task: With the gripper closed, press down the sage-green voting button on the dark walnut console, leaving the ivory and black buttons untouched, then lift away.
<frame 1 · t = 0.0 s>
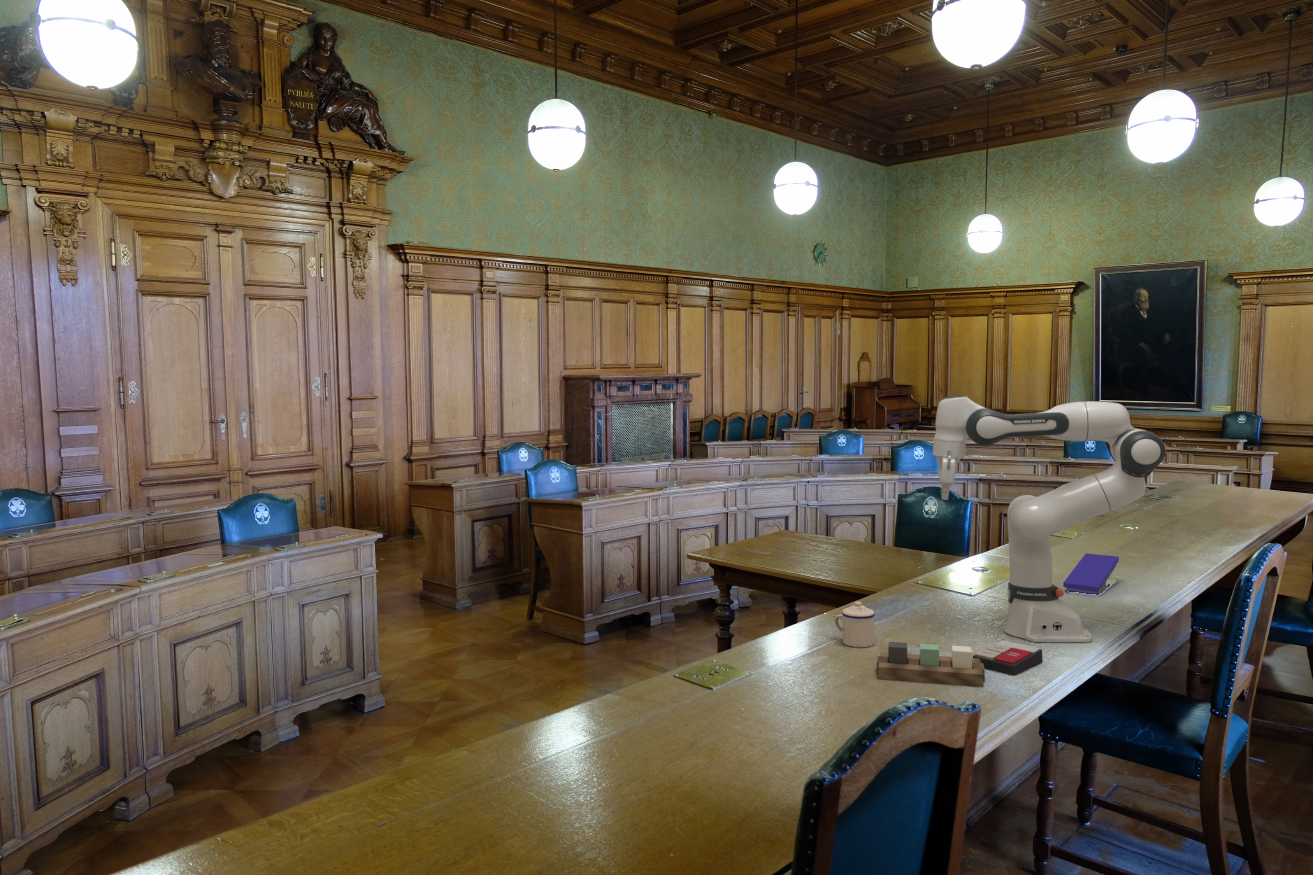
hand: (944, 497, 240), 39 cm above the table, tool pointing down, fingers open, 8 cm apart
ivory button: (961, 658, 200), point 5 cm above the table, slide at 0.0 cm
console: (929, 674, 203), on the table
purple sloped board: (1092, 588, 287), on the table
dark flat boxy piece: (1007, 666, 209), on the table
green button: (929, 656, 203), point 5 cm above the table, slide at 0.0 cm
black button: (897, 654, 205), point 5 cm above the table, slide at 0.0 cm
teacup with lid: (854, 642, 231), on the table
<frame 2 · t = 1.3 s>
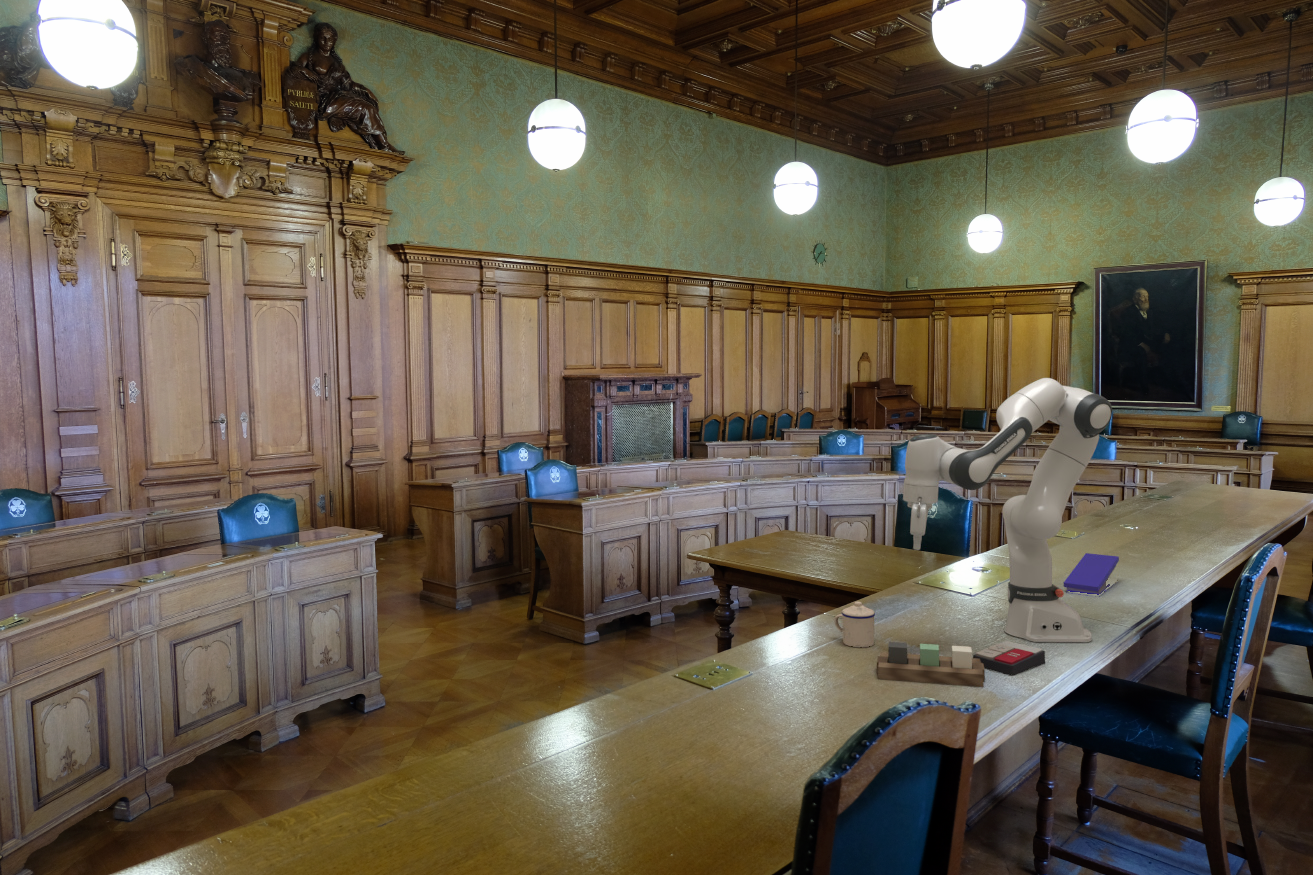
hand: (917, 545, 221), 29 cm above the table, tool pointing down, fingers open, 8 cm apart
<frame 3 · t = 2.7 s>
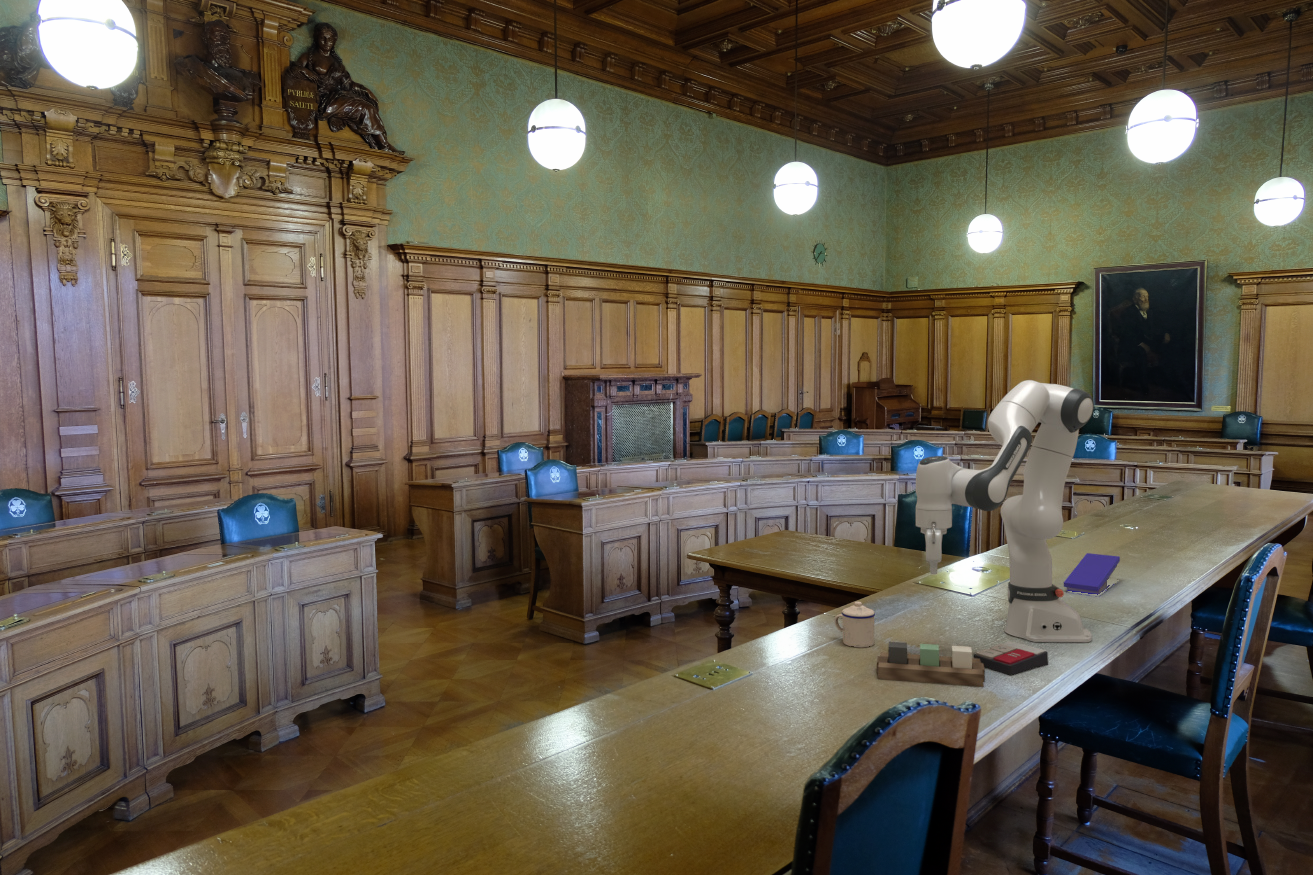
hand: (933, 573, 211), 23 cm above the table, tool pointing down, fingers closed
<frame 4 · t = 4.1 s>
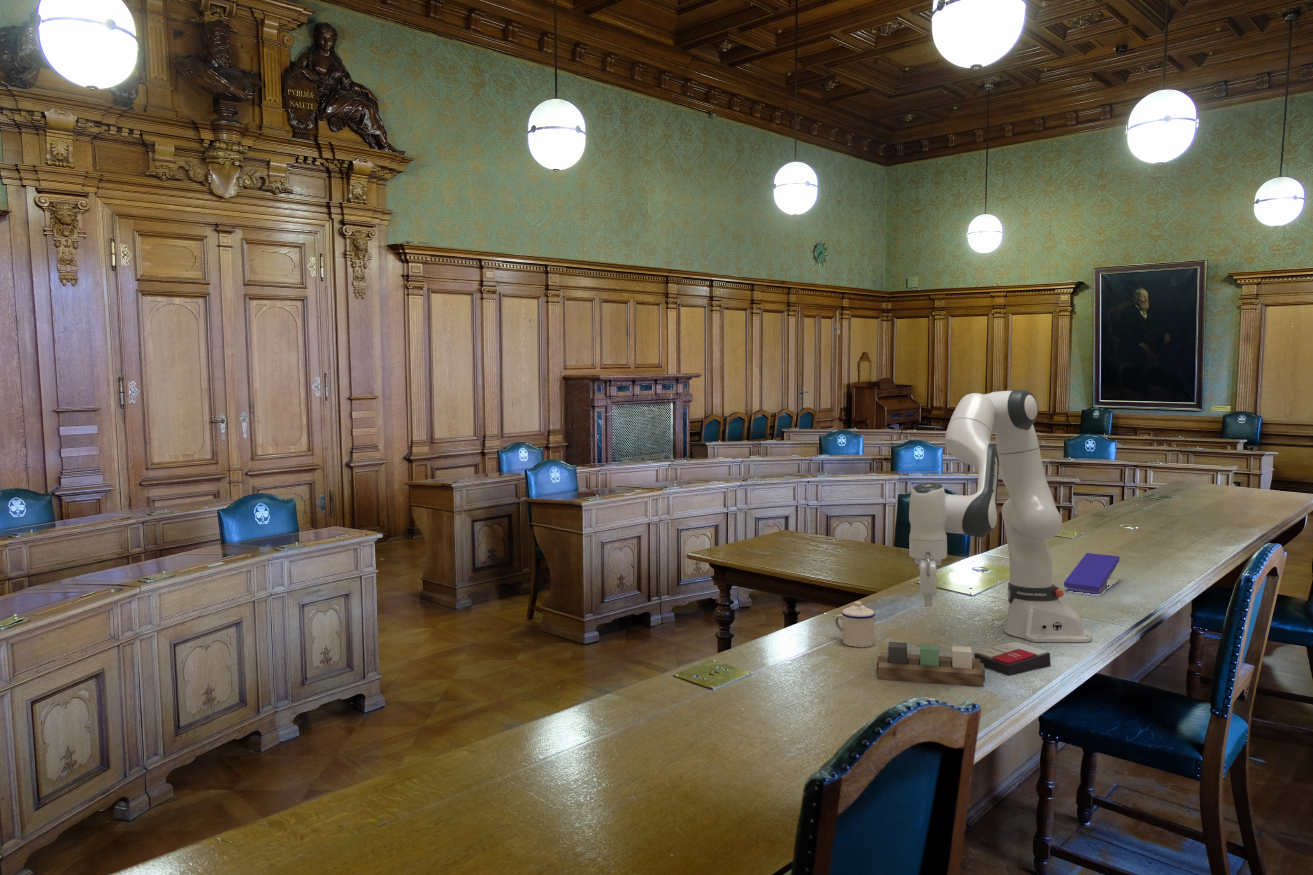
hand: (928, 605, 202), 17 cm above the table, tool pointing down, fingers closed
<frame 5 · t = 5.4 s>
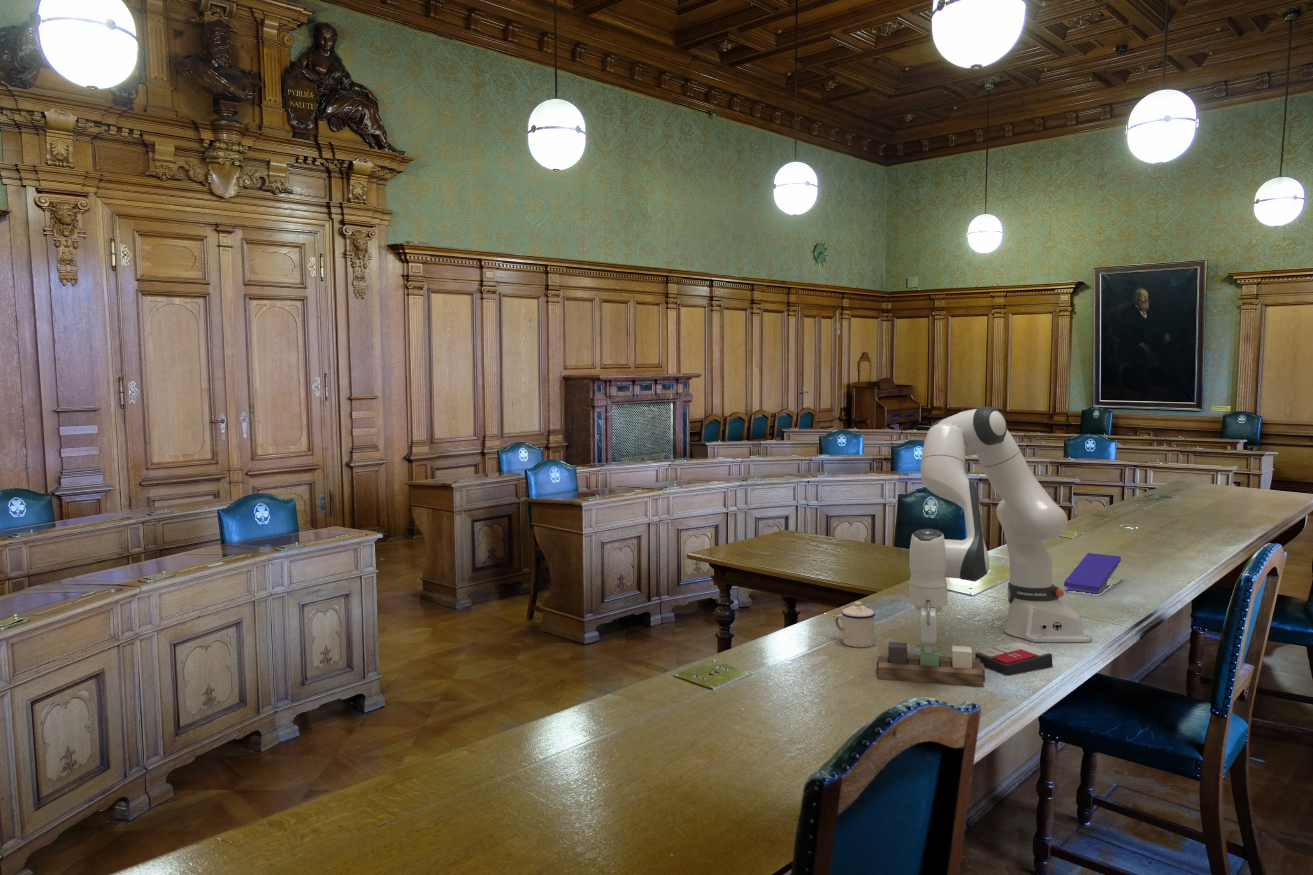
hand: (928, 651, 203), 6 cm above the table, tool pointing down, fingers closed, pressing on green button
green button: (929, 661, 203), point 3 cm above the table, slide at 1.3 cm, touching gripper
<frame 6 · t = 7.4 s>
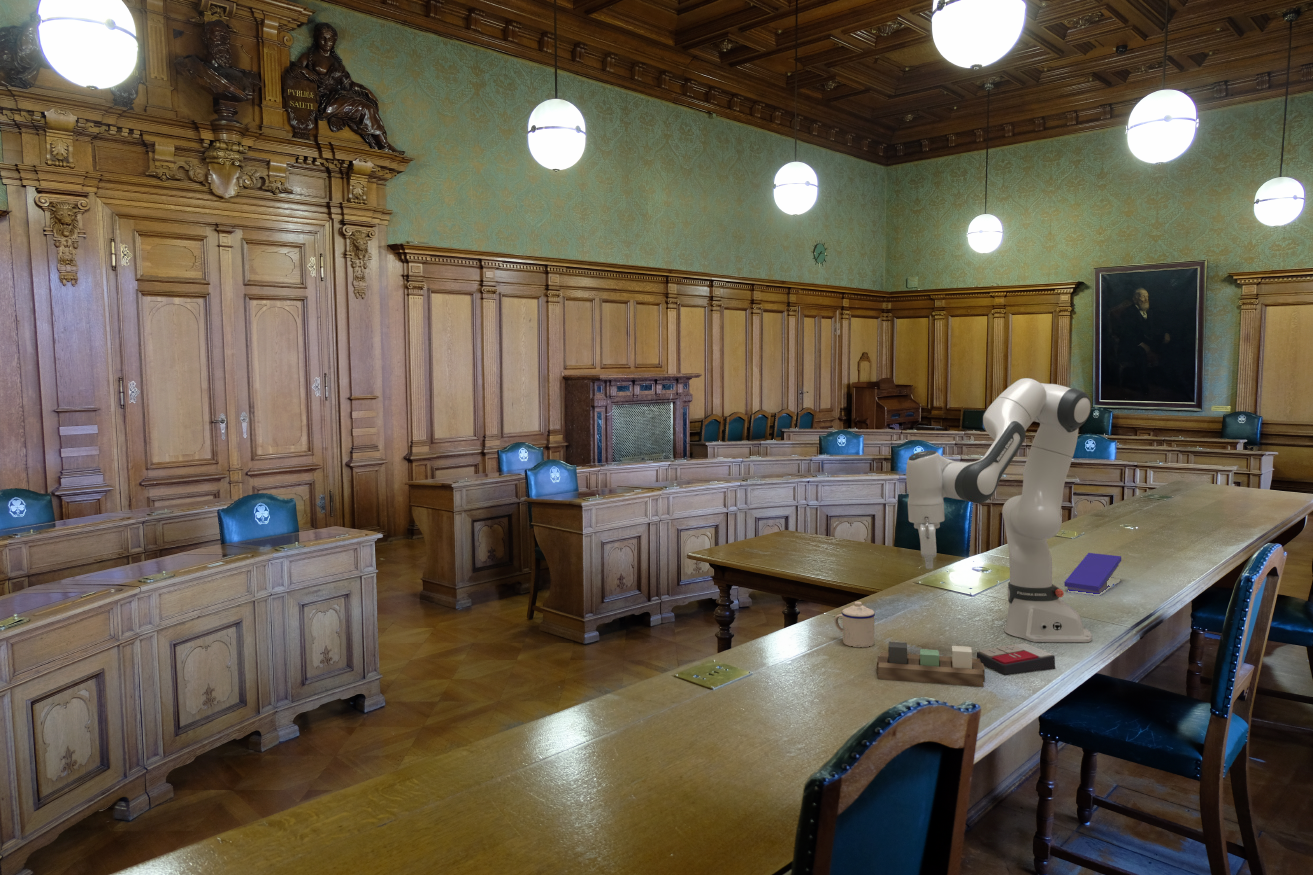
hand: (929, 567, 212), 25 cm above the table, tool pointing down, fingers closed
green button: (929, 662, 203), point 3 cm above the table, slide at 1.4 cm
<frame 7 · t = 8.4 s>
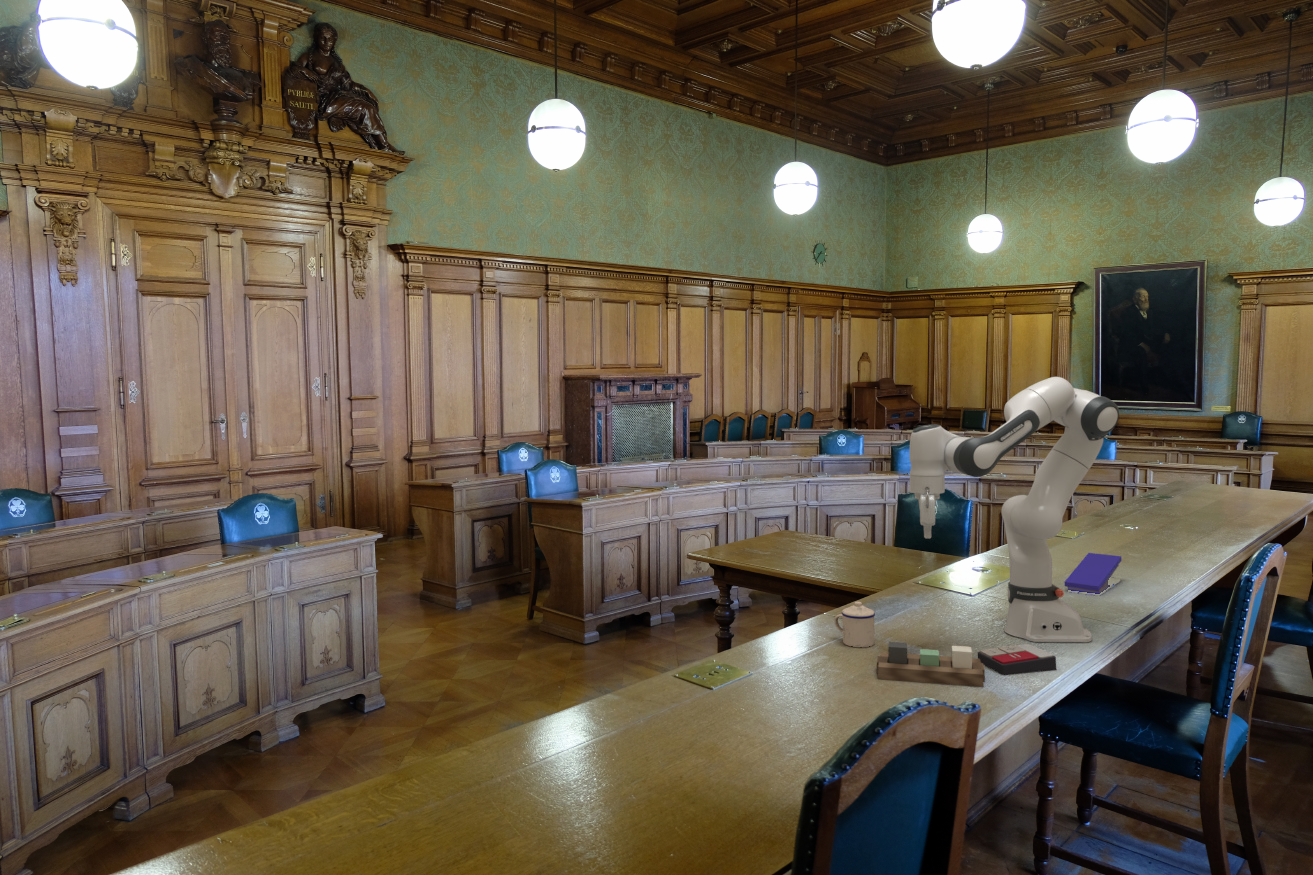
hand: (927, 537, 218), 31 cm above the table, tool pointing down, fingers closed
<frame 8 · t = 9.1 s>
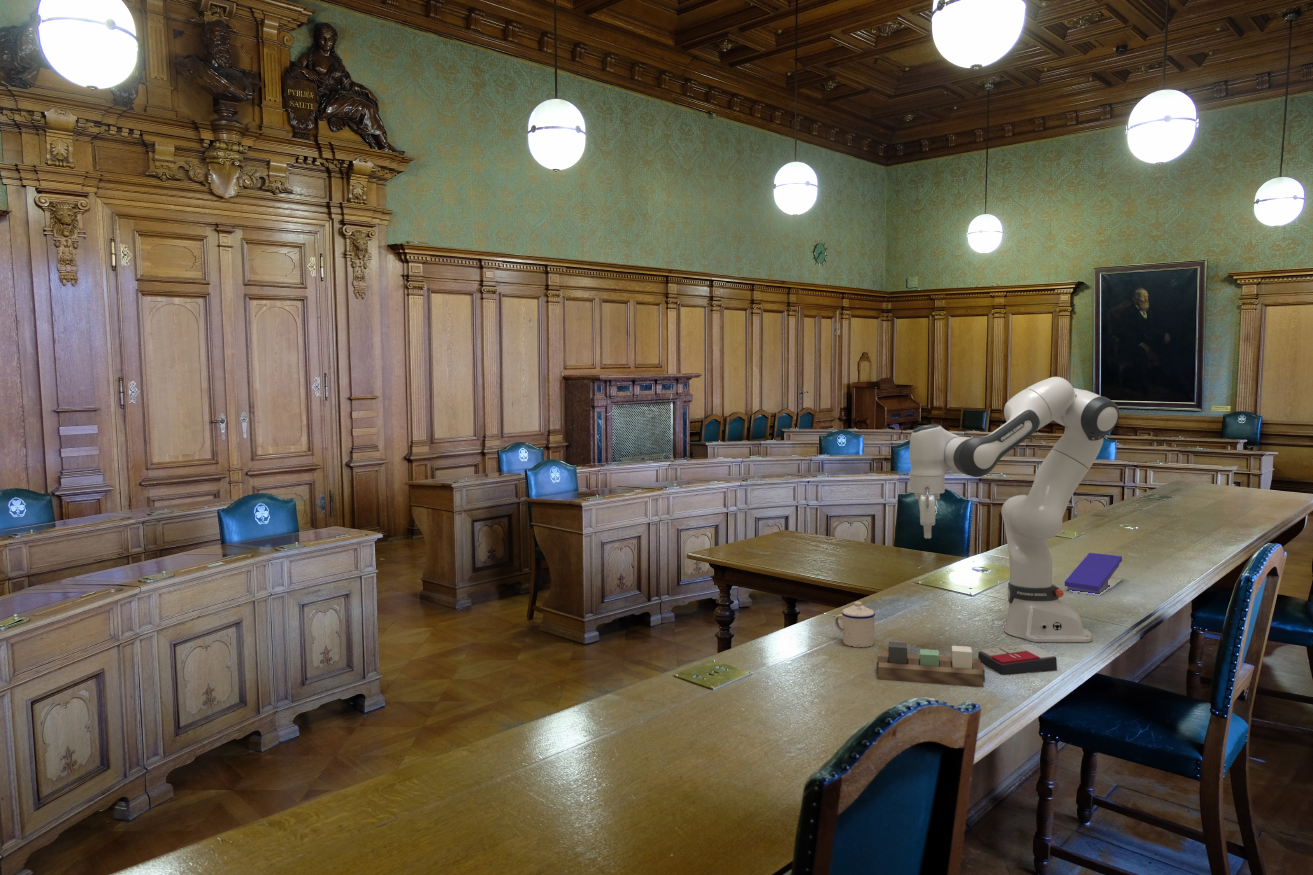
hand: (927, 537, 218), 31 cm above the table, tool pointing down, fingers closed
at the end: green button slide at 1.4 cm; ivory button slide at 0.0 cm; black button slide at 0.0 cm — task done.
